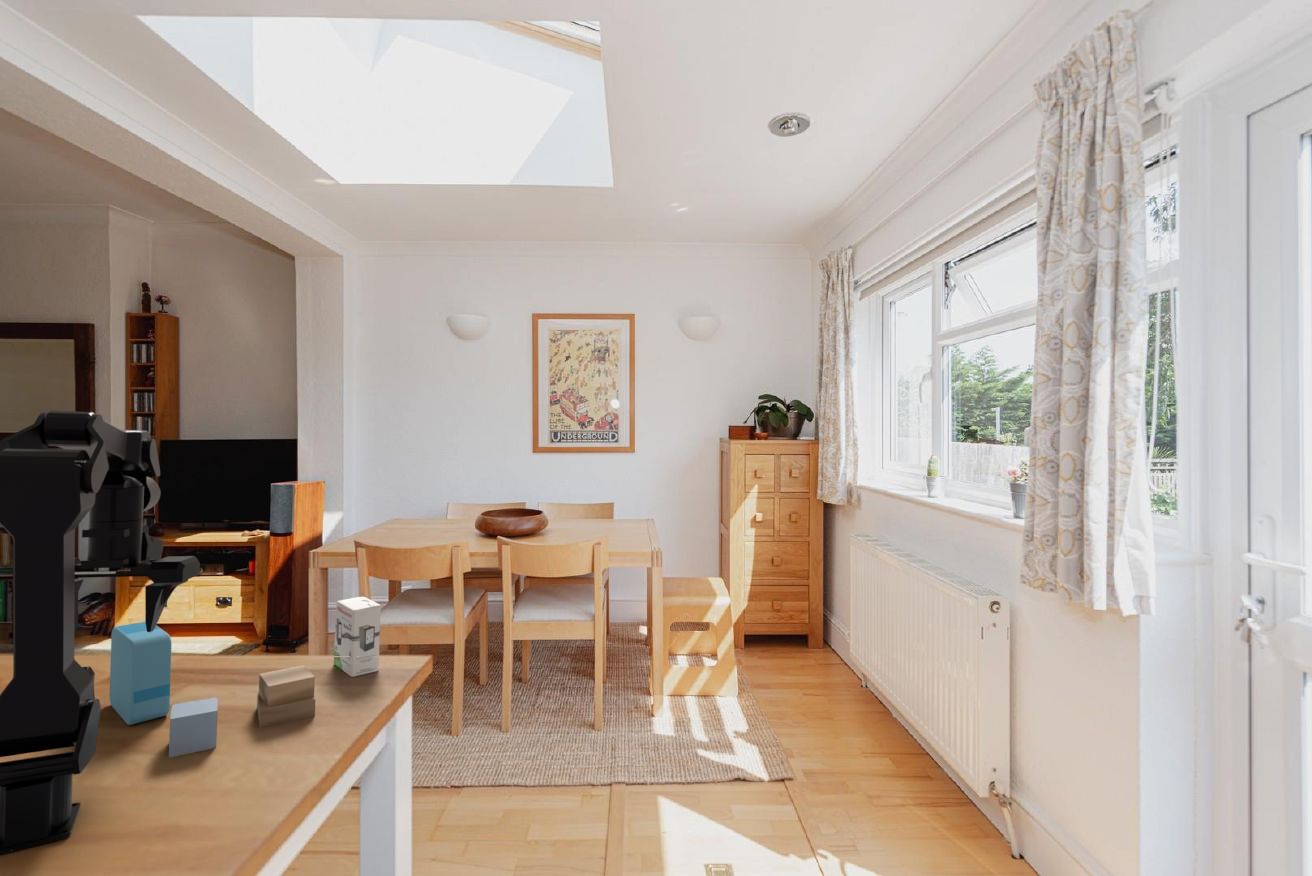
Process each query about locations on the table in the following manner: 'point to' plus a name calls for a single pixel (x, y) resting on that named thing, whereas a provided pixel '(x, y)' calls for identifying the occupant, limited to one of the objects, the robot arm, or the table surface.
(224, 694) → the table surface
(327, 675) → the table surface
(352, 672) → the ink box
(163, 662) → the data package
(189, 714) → the blue cube
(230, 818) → the table surface
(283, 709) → the lower slab
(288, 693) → the upper slab
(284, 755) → the table surface
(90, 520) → the robot arm
